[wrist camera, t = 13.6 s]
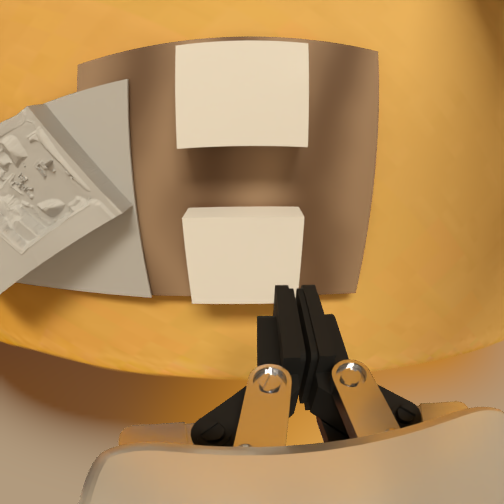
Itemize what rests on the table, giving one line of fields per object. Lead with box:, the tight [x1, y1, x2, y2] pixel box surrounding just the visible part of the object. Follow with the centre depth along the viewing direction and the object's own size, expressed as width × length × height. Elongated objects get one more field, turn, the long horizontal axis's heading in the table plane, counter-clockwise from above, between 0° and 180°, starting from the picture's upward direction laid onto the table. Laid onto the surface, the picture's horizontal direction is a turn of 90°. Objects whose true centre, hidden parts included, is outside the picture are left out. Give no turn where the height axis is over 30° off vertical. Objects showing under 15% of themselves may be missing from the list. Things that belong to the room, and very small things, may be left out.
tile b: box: [182, 206, 304, 304], centre depth 18 cm, size 2×6×7 cm
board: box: [77, 37, 379, 296], centre depth 18 cm, size 20×18×1 cm
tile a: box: [175, 40, 309, 149], centre depth 14 cm, size 2×6×7 cm
